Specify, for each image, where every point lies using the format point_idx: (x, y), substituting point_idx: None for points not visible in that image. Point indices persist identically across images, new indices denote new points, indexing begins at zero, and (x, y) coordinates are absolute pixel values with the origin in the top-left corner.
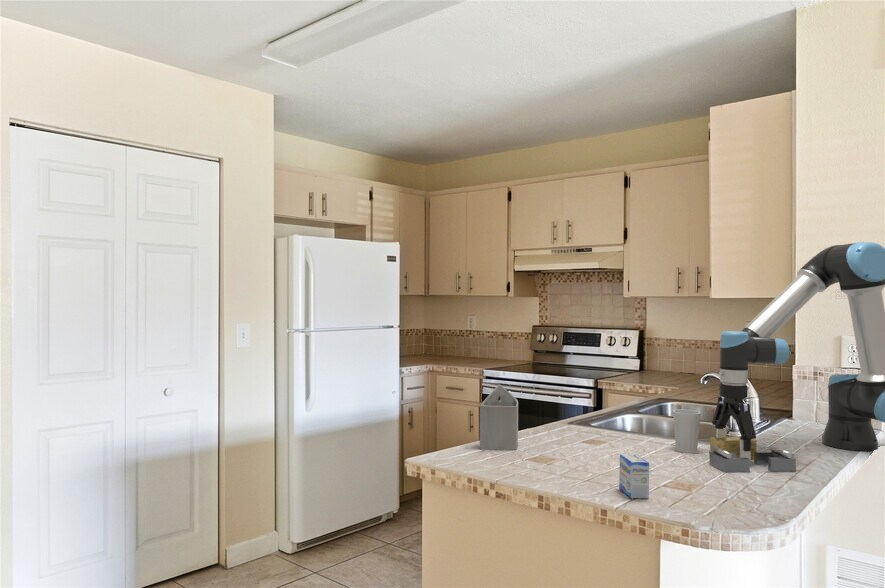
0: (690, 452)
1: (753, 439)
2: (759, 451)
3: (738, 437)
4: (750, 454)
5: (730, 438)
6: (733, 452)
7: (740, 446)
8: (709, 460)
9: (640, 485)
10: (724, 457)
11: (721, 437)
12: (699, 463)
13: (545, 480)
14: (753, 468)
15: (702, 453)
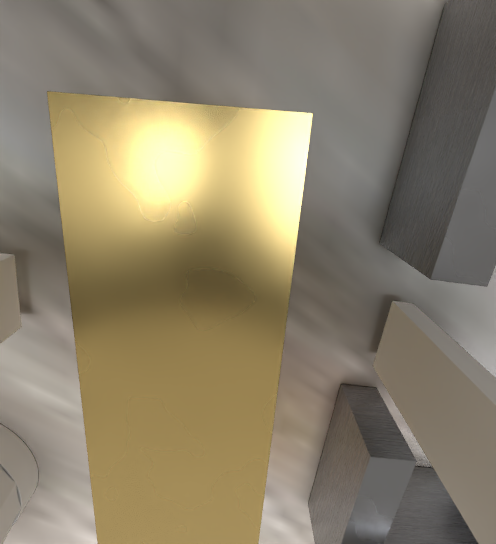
0: (35, 478)
1: (273, 151)
2: (459, 221)
3: (98, 302)
4: (449, 336)
5: (158, 437)
6: (400, 474)
7: (445, 470)
8: (313, 526)
9: None
10: None
11: (97, 499)
12: (283, 537)
13: None
14: (481, 329)
15: (44, 414)
